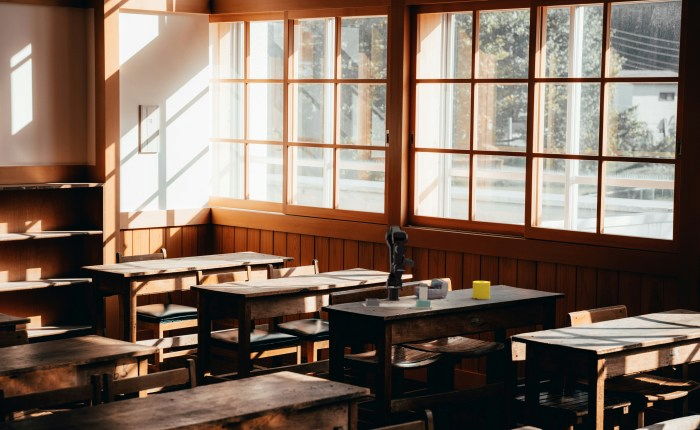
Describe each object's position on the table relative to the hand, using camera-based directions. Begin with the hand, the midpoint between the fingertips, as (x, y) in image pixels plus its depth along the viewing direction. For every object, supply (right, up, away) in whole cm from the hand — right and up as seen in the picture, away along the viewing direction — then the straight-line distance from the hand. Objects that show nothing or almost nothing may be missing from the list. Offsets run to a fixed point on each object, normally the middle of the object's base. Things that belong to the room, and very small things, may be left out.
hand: (398, 281), depth 586 cm
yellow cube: (+50, -12, +34) cm, 62 cm away
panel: (-1, -13, -10) cm, 17 cm away
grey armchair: (+20, -12, +31) cm, 38 cm away
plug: (+13, -12, -11) cm, 21 cm away
